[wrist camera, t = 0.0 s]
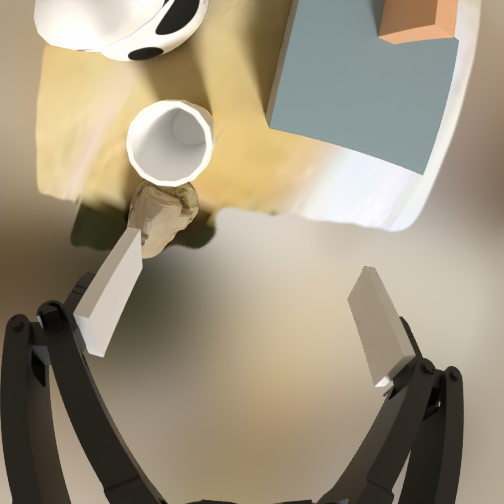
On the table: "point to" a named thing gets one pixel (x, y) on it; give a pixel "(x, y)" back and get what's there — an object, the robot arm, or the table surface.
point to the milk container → (119, 25)
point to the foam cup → (171, 142)
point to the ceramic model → (161, 213)
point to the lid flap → (369, 76)
